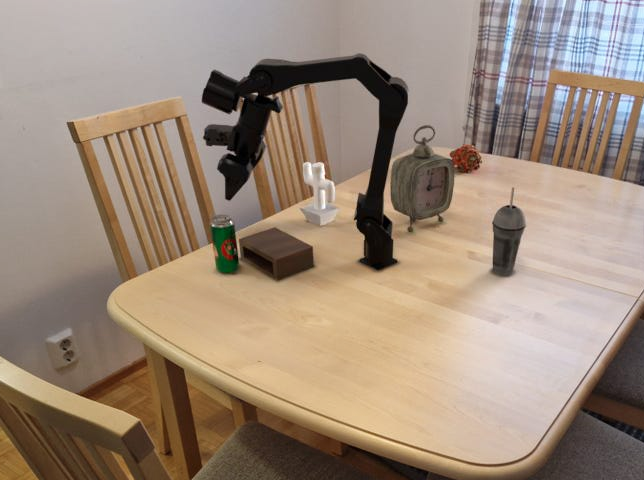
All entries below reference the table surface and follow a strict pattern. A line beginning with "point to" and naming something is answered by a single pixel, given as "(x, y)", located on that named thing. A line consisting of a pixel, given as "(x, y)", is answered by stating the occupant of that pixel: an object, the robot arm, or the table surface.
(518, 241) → the beverage cup
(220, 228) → the soda can
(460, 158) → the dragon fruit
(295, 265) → the shelf
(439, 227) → the table surface
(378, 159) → the robot arm
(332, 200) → the figurine
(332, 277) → the table surface
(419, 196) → the tabletop clock
